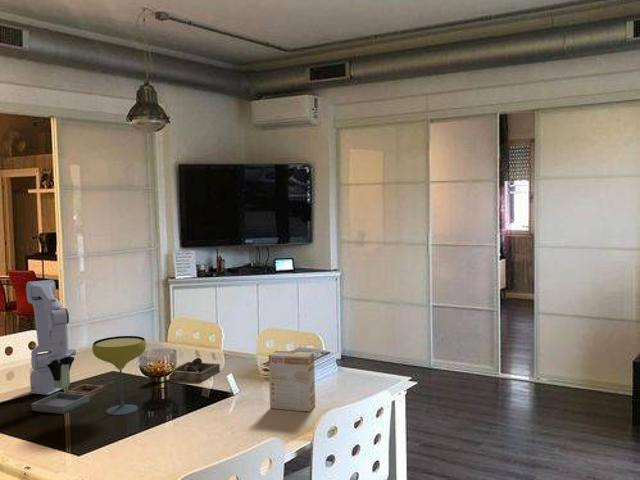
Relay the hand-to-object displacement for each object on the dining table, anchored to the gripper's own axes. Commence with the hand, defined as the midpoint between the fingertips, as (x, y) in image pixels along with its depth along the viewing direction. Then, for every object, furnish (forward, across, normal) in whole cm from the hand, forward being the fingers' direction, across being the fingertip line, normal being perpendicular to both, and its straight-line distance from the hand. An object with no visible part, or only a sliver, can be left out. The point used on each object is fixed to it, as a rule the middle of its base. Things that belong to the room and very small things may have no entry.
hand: (61, 378), depth 232 cm
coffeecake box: (+10, +20, -83) cm, 86 cm away
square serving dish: (+10, +47, -28) cm, 56 cm away
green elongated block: (+3, 0, 0) cm, 3 cm away
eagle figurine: (+10, +49, -27) cm, 57 cm away
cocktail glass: (+10, +1, -25) cm, 27 cm away
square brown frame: (+10, +15, +2) cm, 18 cm away
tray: (+10, -1, 0) cm, 10 cm away
